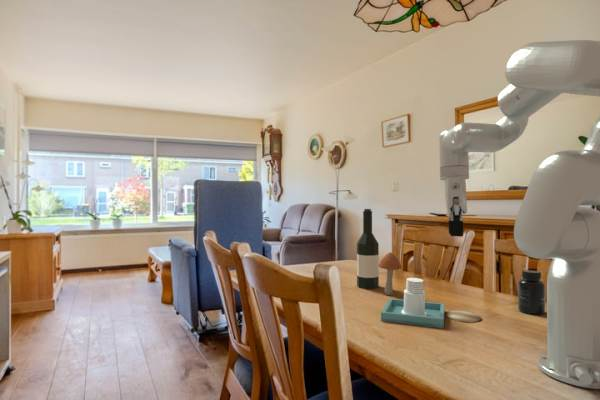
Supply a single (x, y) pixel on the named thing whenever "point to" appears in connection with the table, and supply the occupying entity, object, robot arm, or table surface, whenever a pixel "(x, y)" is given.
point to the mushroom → (389, 270)
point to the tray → (432, 319)
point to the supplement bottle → (531, 293)
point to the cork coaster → (463, 316)
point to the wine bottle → (367, 255)
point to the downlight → (414, 297)
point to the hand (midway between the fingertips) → (455, 235)
